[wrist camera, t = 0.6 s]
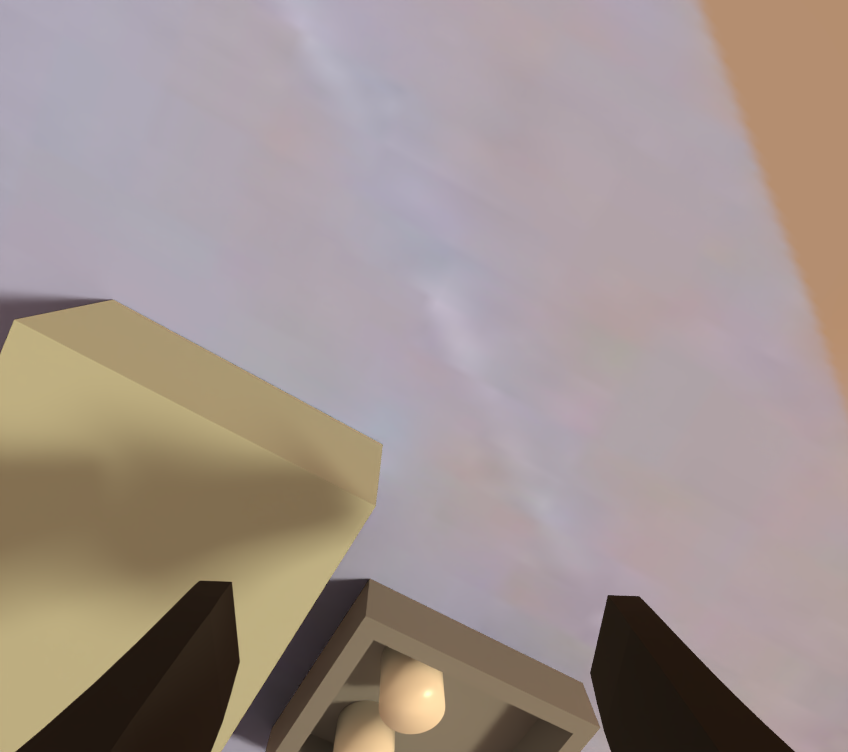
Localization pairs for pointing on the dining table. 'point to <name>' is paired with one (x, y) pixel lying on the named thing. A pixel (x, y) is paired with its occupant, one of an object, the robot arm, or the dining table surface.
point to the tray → (469, 682)
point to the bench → (155, 503)
